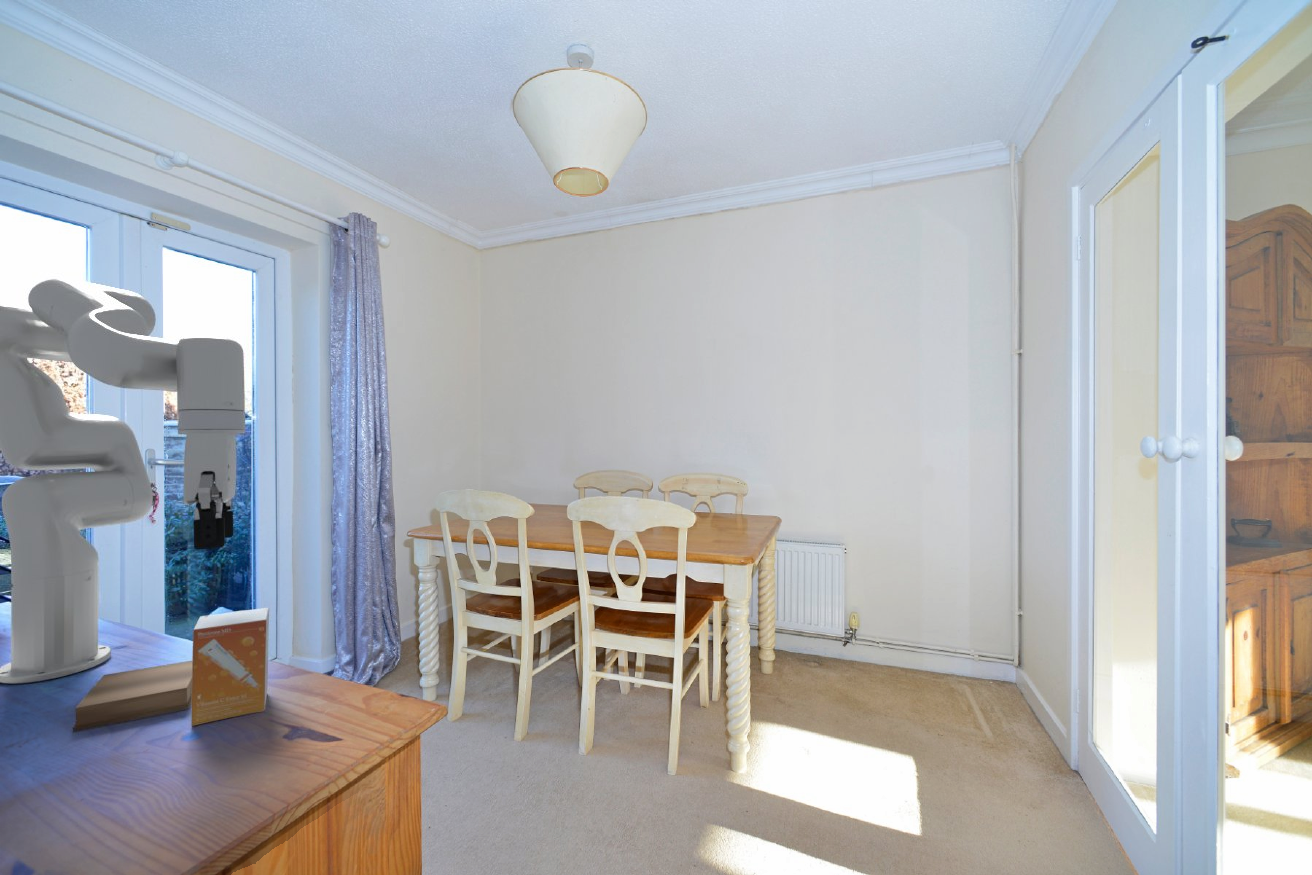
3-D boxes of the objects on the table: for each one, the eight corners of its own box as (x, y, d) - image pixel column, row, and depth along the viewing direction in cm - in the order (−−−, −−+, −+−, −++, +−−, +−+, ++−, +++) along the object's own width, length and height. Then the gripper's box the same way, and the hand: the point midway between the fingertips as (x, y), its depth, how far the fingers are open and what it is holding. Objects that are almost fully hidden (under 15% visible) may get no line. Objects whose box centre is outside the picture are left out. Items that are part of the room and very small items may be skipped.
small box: (190, 727, 71) (191, 629, 71) (198, 706, 76) (198, 615, 76) (266, 711, 75) (267, 618, 75) (268, 692, 81) (269, 605, 81)
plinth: (102, 694, 79) (102, 674, 79) (202, 677, 85) (202, 658, 85) (72, 732, 69) (72, 708, 69) (188, 709, 76) (188, 687, 76)
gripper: (189, 426, 83) (192, 537, 83) (163, 421, 68) (166, 556, 68) (250, 426, 87) (253, 532, 87) (238, 421, 72) (241, 549, 72)
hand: (215, 542), depth 78 cm, fingers open, 9 cm apart
